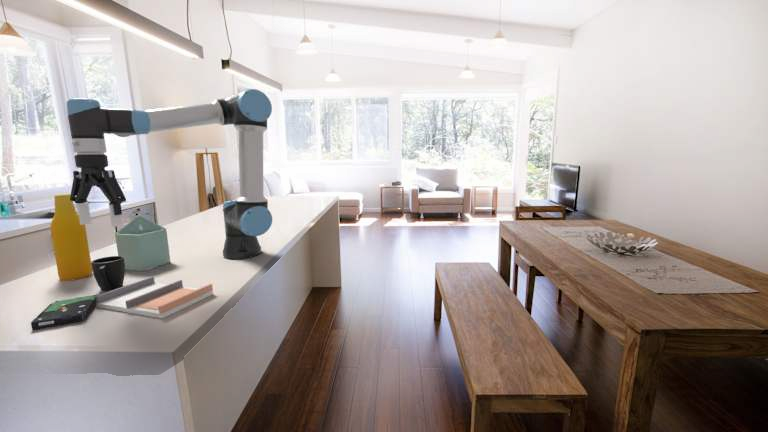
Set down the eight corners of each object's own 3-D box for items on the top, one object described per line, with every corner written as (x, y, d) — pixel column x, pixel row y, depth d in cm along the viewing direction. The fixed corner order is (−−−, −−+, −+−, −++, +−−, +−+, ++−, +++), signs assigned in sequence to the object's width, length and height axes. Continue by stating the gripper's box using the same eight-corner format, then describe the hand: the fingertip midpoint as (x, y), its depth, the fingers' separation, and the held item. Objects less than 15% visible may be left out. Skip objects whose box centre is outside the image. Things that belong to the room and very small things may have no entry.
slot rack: (153, 286, 116) (152, 276, 116) (213, 294, 108) (212, 284, 108) (96, 307, 100) (95, 296, 100) (162, 318, 92) (160, 306, 92)
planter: (116, 274, 129) (107, 220, 125) (120, 268, 136) (112, 217, 132) (169, 267, 136) (162, 215, 133) (170, 262, 143) (164, 213, 140)
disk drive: (85, 323, 92) (100, 302, 105) (83, 313, 91) (98, 293, 104) (32, 333, 87) (53, 309, 100) (29, 322, 87) (52, 300, 100)
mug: (86, 299, 107) (81, 268, 105) (100, 285, 118) (96, 257, 116) (120, 294, 110) (115, 264, 108) (130, 282, 121) (126, 254, 119)
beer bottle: (82, 271, 134) (69, 193, 129) (99, 273, 130) (86, 193, 126) (52, 279, 125) (37, 196, 120) (70, 282, 122) (55, 196, 117)
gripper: (47, 154, 106) (59, 225, 110) (107, 153, 99) (118, 229, 102) (75, 154, 113) (86, 221, 117) (134, 153, 106) (143, 224, 109)
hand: (101, 225), depth 110 cm, fingers open, 13 cm apart
